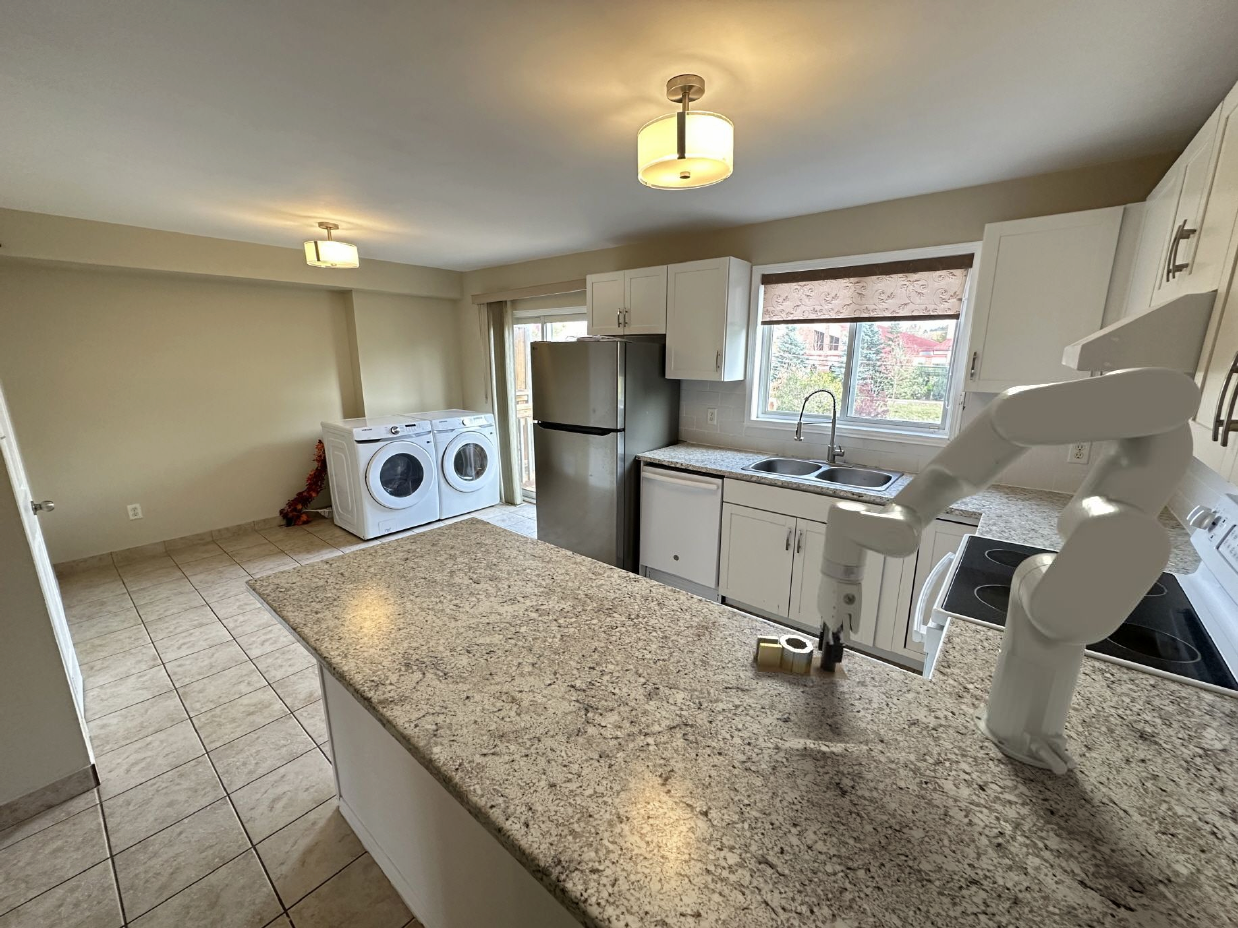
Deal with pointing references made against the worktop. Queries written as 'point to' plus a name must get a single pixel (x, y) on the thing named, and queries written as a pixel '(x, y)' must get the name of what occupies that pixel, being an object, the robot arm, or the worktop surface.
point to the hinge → (784, 653)
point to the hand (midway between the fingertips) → (829, 655)
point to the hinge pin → (824, 665)
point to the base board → (814, 671)
